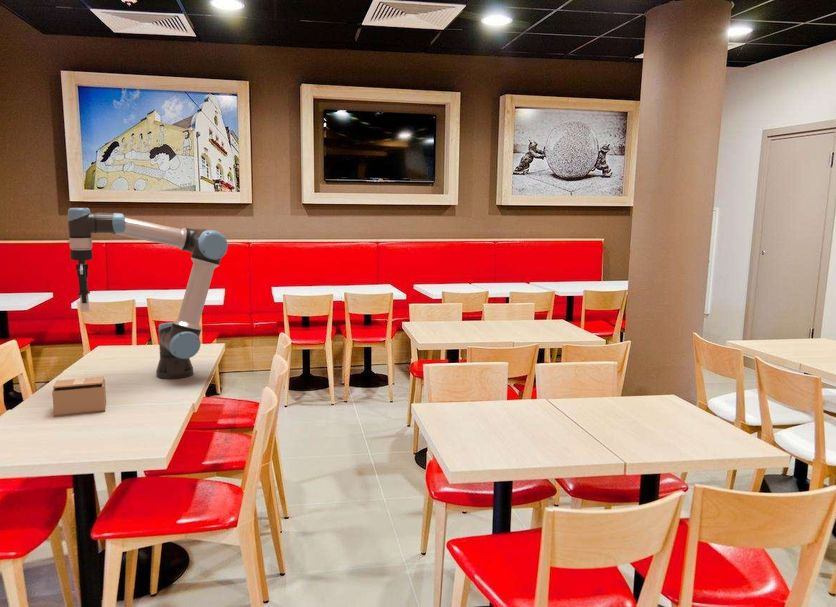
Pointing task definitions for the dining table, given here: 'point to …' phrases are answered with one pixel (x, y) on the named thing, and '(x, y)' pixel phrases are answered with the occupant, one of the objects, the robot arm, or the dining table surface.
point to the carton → (79, 399)
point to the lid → (78, 382)
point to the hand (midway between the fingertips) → (85, 311)
